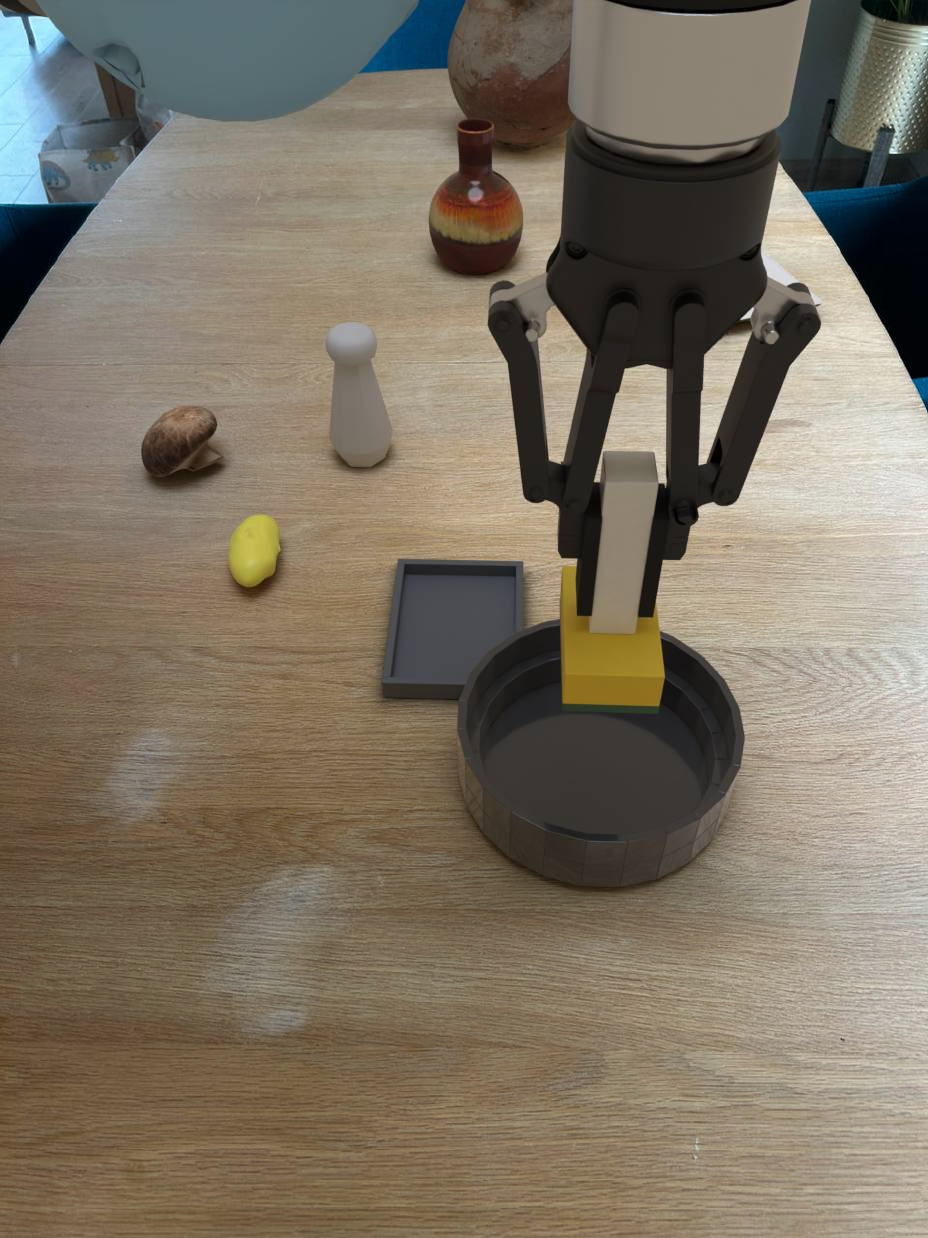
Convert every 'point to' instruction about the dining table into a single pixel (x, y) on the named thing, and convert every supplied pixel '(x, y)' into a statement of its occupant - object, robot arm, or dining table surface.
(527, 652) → the bowl
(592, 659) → the sponge brush
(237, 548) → the yellow potato
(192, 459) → the mushroom
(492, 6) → the jug
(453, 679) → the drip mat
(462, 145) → the vase
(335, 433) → the salt shaker
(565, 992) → the dining table surface
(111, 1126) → the dining table surface
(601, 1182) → the dining table surface
